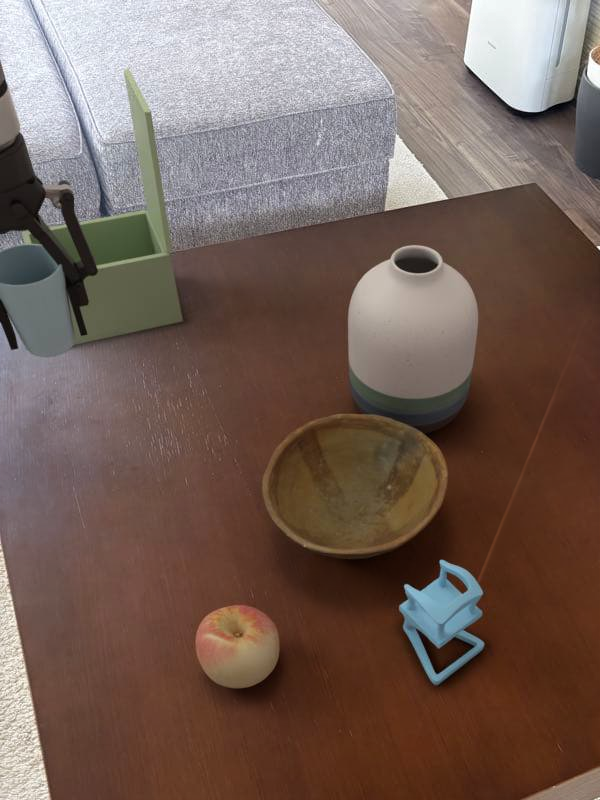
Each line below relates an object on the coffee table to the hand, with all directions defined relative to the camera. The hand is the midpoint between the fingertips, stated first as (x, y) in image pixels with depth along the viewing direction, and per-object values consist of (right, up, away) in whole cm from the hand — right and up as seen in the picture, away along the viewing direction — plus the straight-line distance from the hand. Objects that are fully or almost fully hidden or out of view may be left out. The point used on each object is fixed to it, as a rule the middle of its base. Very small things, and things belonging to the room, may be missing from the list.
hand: (48, 334), depth 99 cm
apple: (+23, -38, -2) cm, 44 cm away
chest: (-5, +12, +36) cm, 38 cm away
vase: (+41, -4, +25) cm, 49 cm away
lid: (+5, +29, +21) cm, 36 cm away
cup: (0, -1, +1) cm, 1 cm away
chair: (+44, -36, +1) cm, 57 cm away
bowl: (+35, -22, +11) cm, 43 cm away
